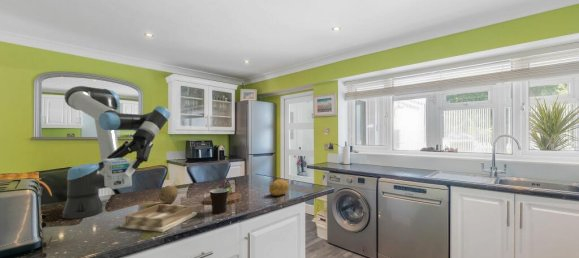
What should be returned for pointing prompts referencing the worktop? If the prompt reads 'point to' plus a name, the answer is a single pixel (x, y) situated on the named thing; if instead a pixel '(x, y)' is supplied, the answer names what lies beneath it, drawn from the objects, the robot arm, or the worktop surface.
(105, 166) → the light bulb box
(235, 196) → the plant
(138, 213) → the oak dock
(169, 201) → the natural sponge
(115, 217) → the worktop surface
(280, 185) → the potato
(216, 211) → the coffee mug
